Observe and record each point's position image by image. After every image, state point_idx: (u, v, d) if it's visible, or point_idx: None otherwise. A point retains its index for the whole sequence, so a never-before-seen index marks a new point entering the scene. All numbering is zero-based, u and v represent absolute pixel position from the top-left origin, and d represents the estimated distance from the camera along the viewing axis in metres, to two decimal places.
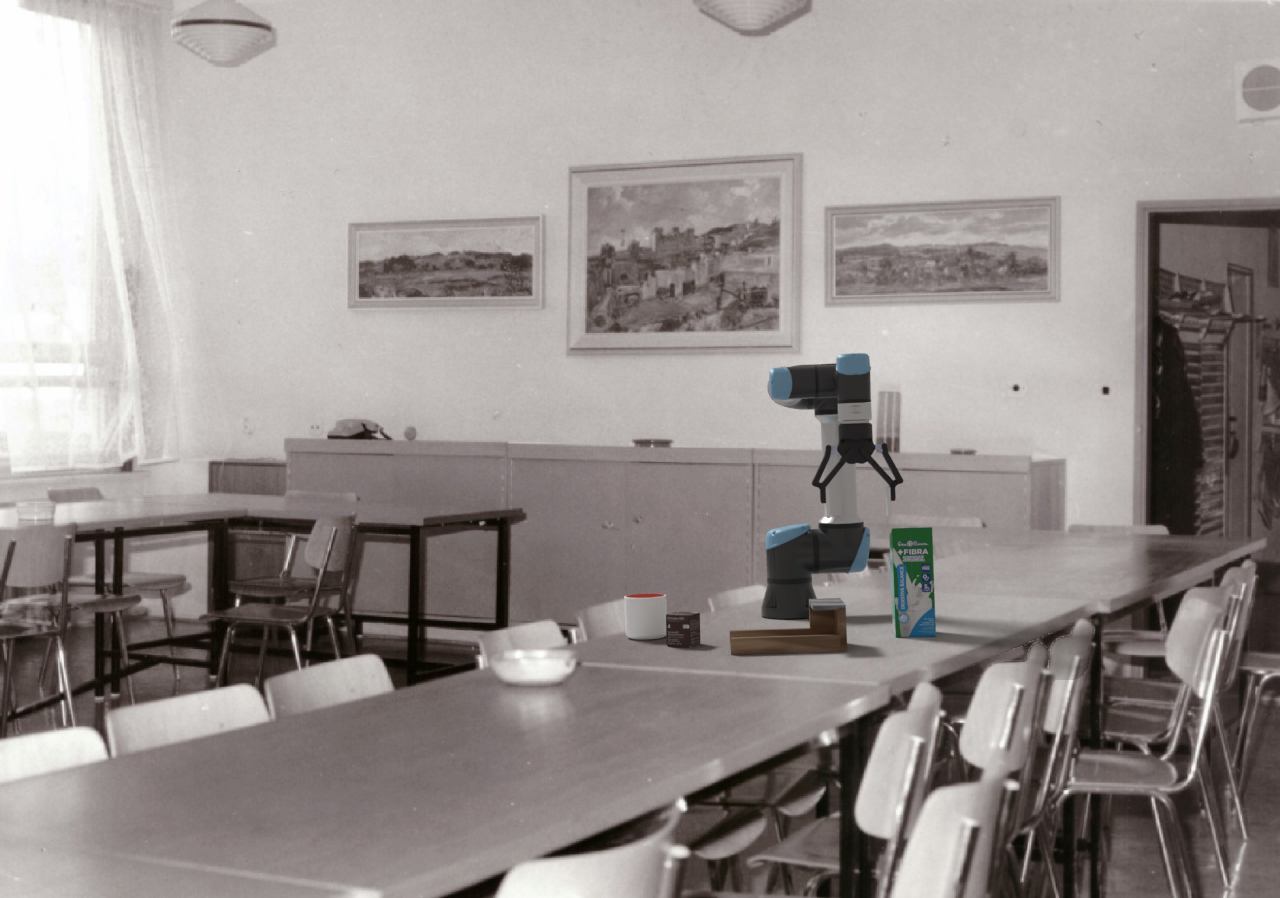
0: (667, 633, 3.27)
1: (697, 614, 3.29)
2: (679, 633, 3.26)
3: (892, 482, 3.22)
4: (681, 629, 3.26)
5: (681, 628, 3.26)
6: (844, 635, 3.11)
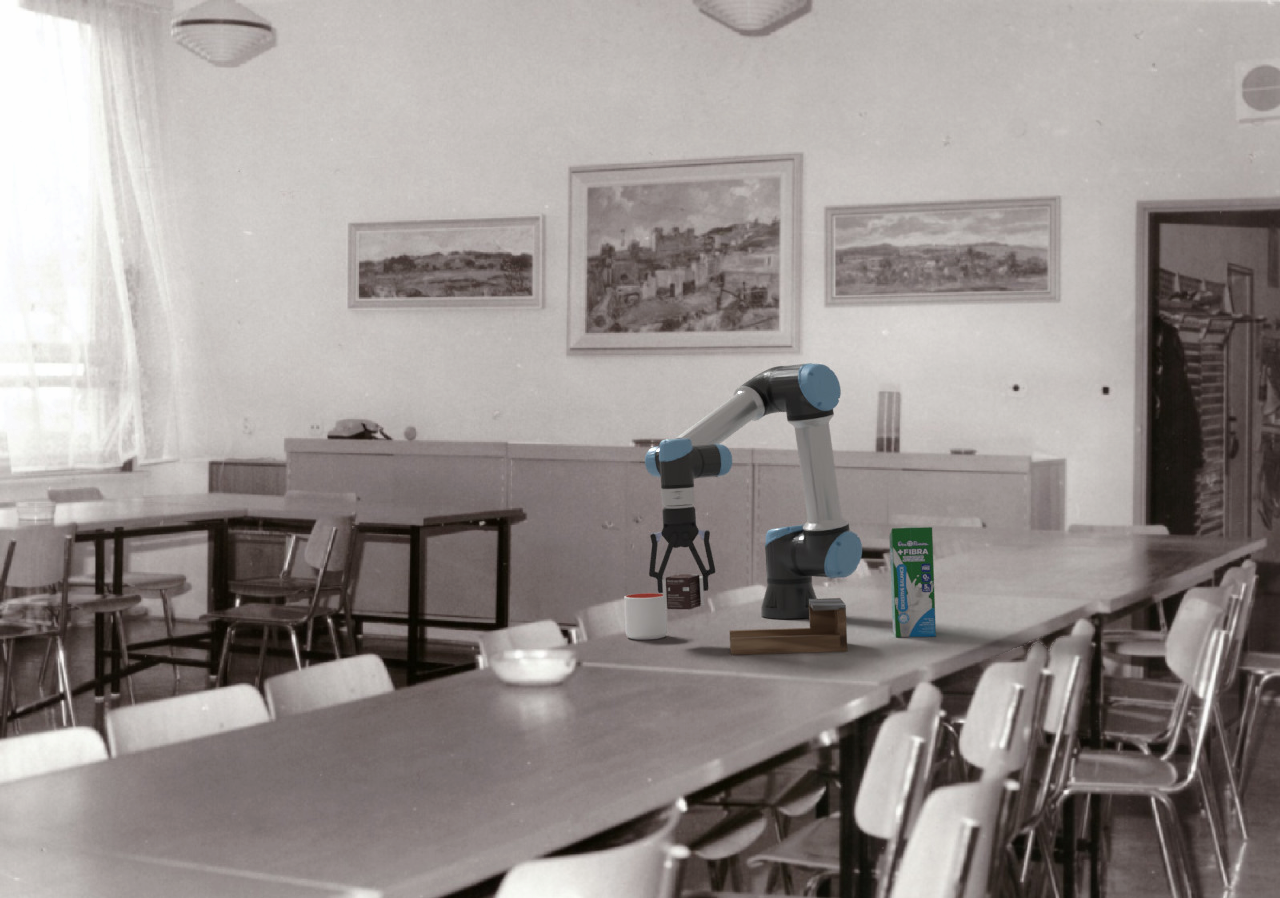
0: (667, 596, 3.28)
1: (697, 576, 3.29)
2: (679, 595, 3.26)
3: (705, 572, 3.27)
4: (681, 592, 3.26)
5: (681, 591, 3.26)
6: (844, 635, 3.11)
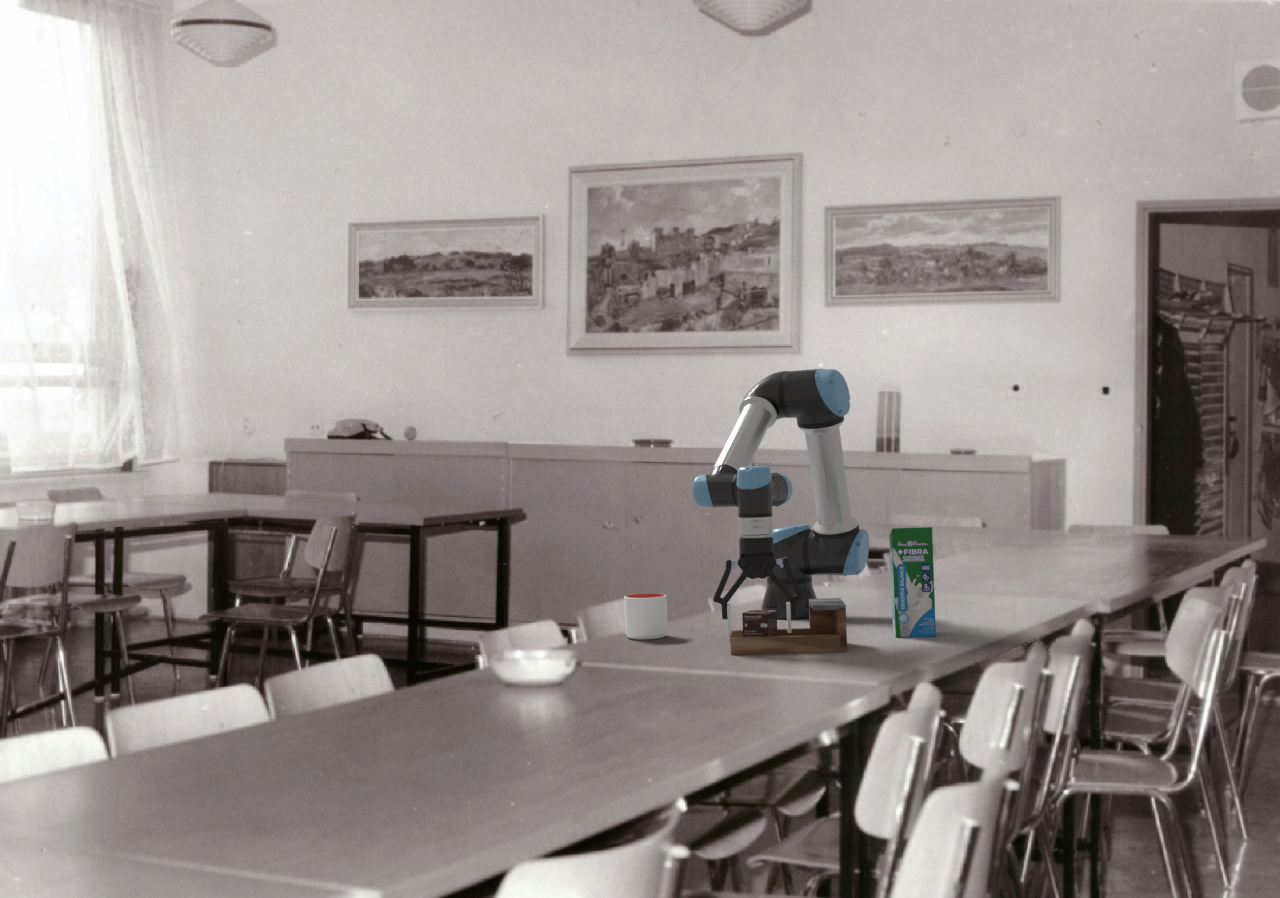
0: (744, 632, 3.17)
1: (774, 612, 3.18)
2: (756, 632, 3.15)
3: (792, 598, 3.16)
4: (759, 628, 3.15)
5: (758, 627, 3.15)
6: (844, 635, 3.11)
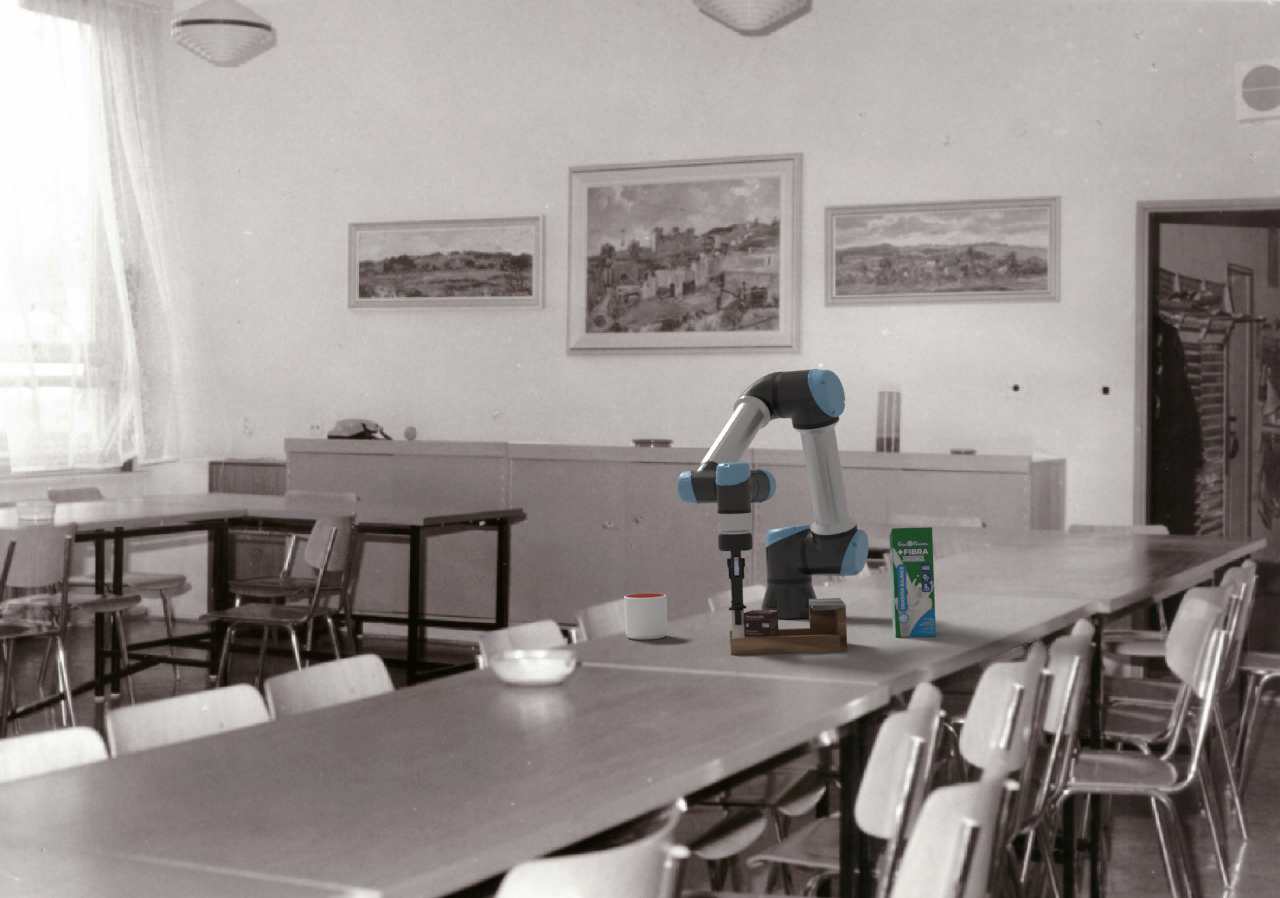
0: (745, 632, 3.17)
1: (776, 612, 3.18)
2: (758, 632, 3.15)
3: (731, 606, 3.17)
4: (760, 628, 3.15)
5: (760, 627, 3.15)
6: (844, 635, 3.11)
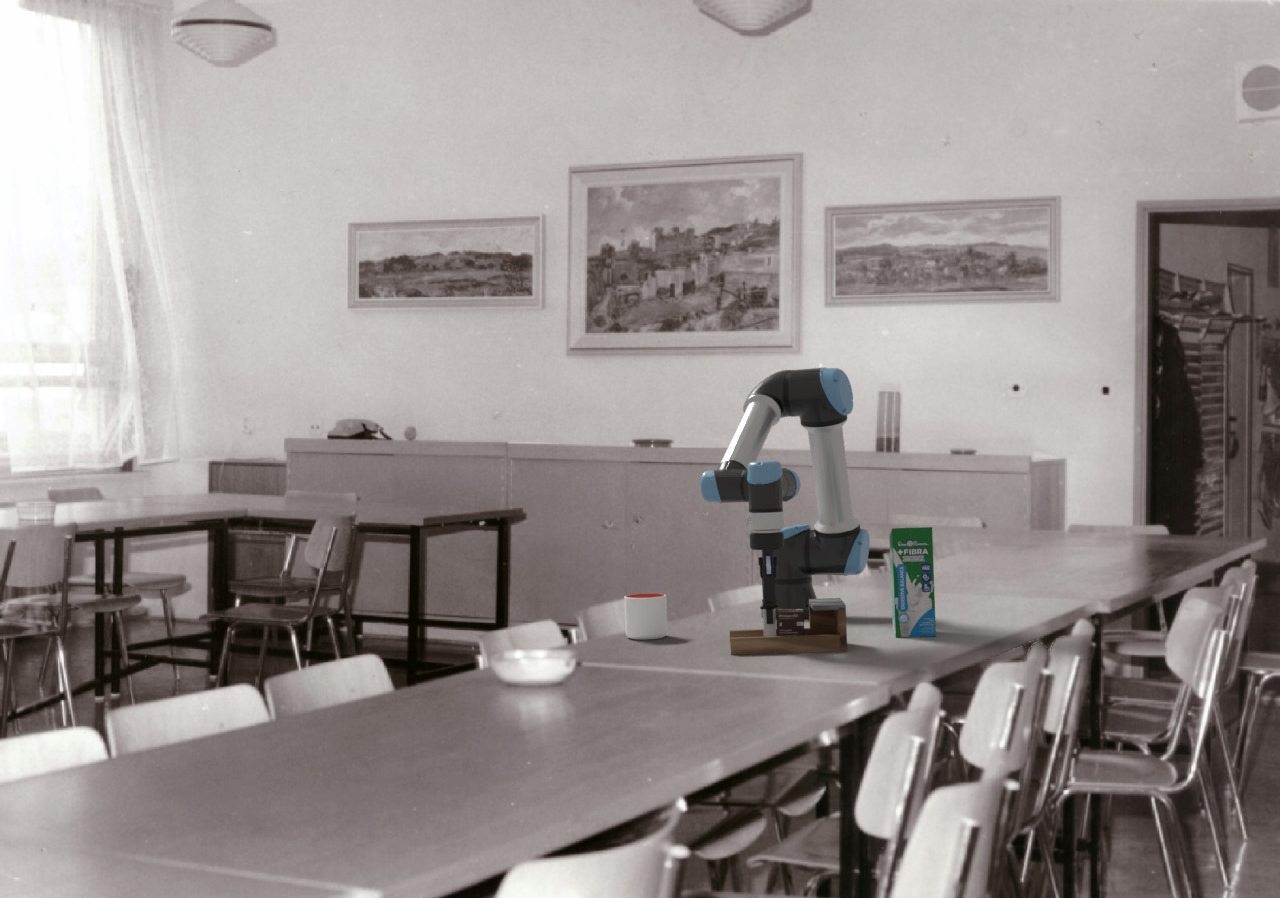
0: (778, 632, 3.15)
1: None
2: (792, 630, 3.15)
3: (763, 605, 3.16)
4: (795, 627, 3.15)
5: (794, 626, 3.15)
6: (844, 635, 3.11)
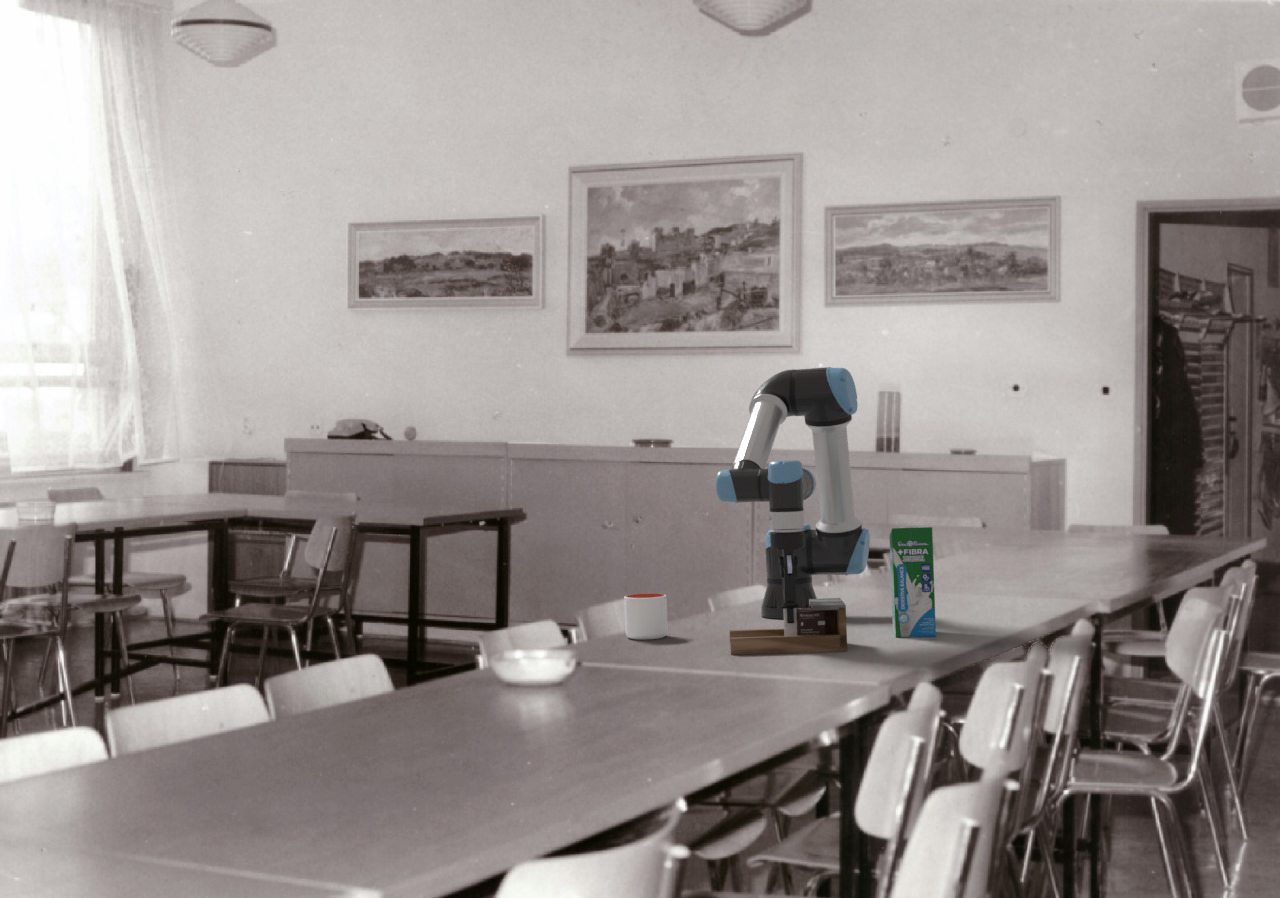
0: (800, 631, 3.15)
1: None
2: (814, 630, 3.15)
3: (784, 604, 3.16)
4: (816, 626, 3.15)
5: (816, 625, 3.15)
6: (844, 635, 3.11)
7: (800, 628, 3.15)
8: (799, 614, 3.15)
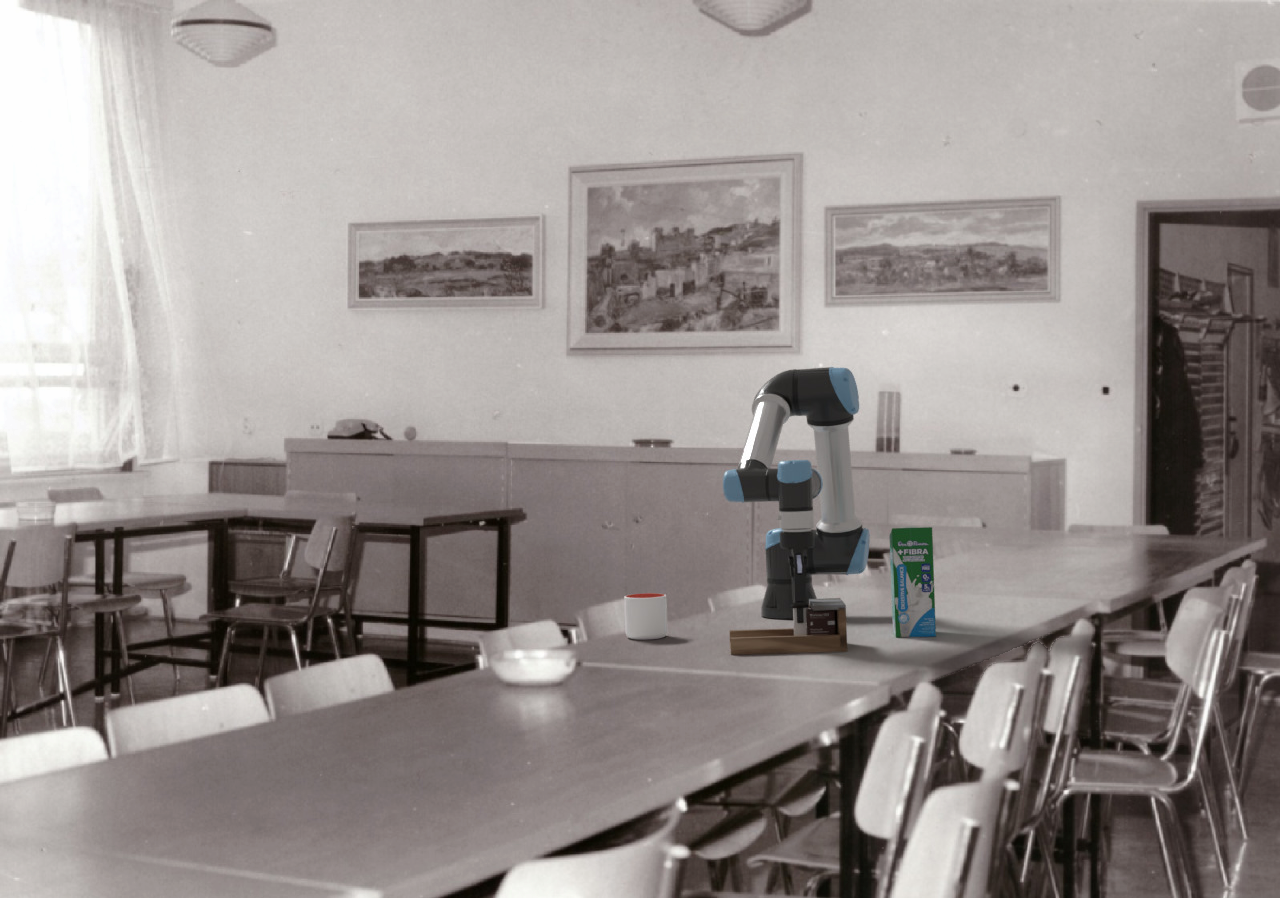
0: (809, 631, 3.15)
1: None
2: (823, 629, 3.15)
3: (793, 604, 3.16)
4: (826, 626, 3.15)
5: (825, 625, 3.15)
6: (844, 635, 3.11)
7: (810, 628, 3.15)
8: (809, 614, 3.15)
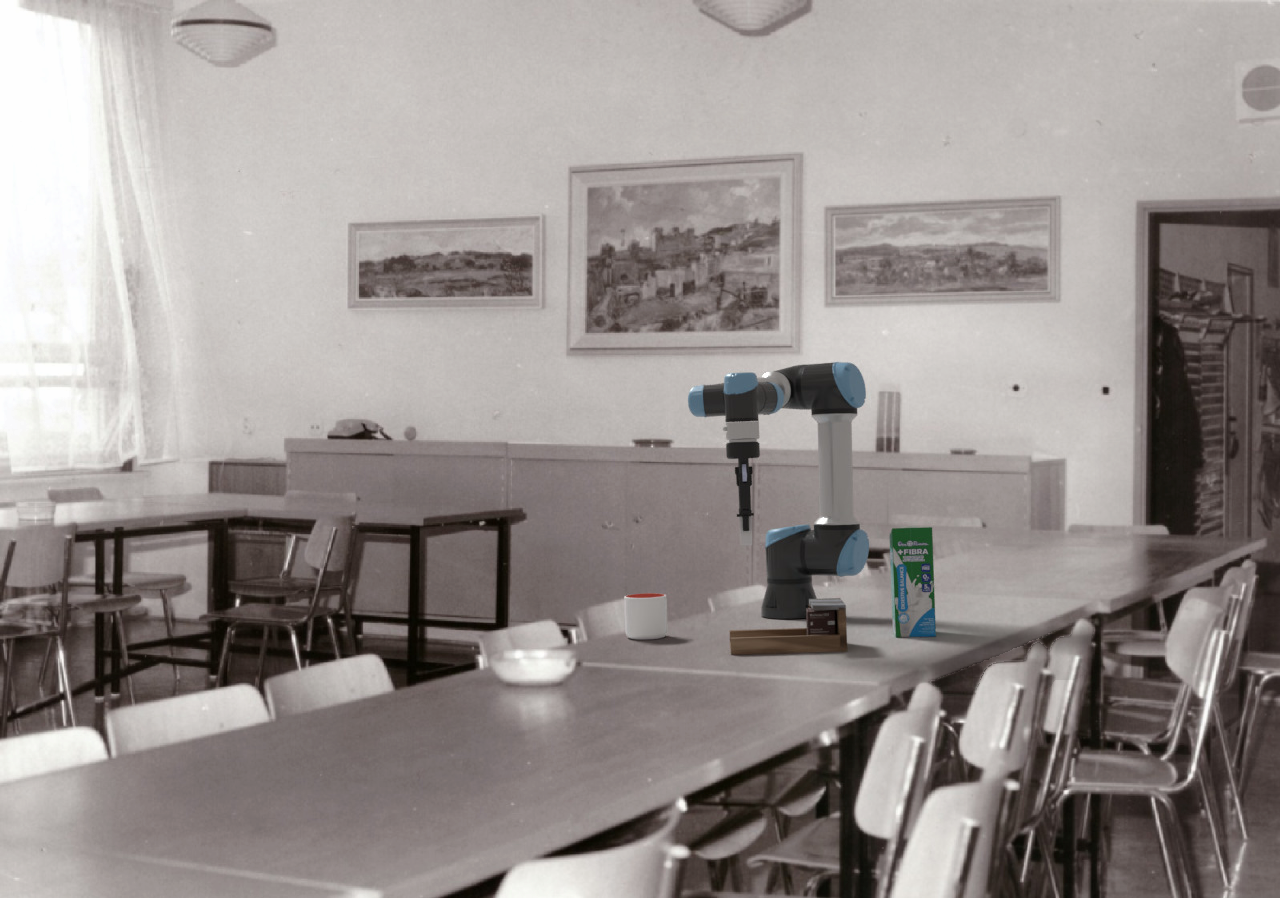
0: (809, 631, 3.15)
1: None
2: (823, 629, 3.15)
3: (739, 512, 3.24)
4: (826, 626, 3.15)
5: (825, 625, 3.15)
6: (844, 635, 3.11)
7: (810, 628, 3.15)
8: (809, 614, 3.15)
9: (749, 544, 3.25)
